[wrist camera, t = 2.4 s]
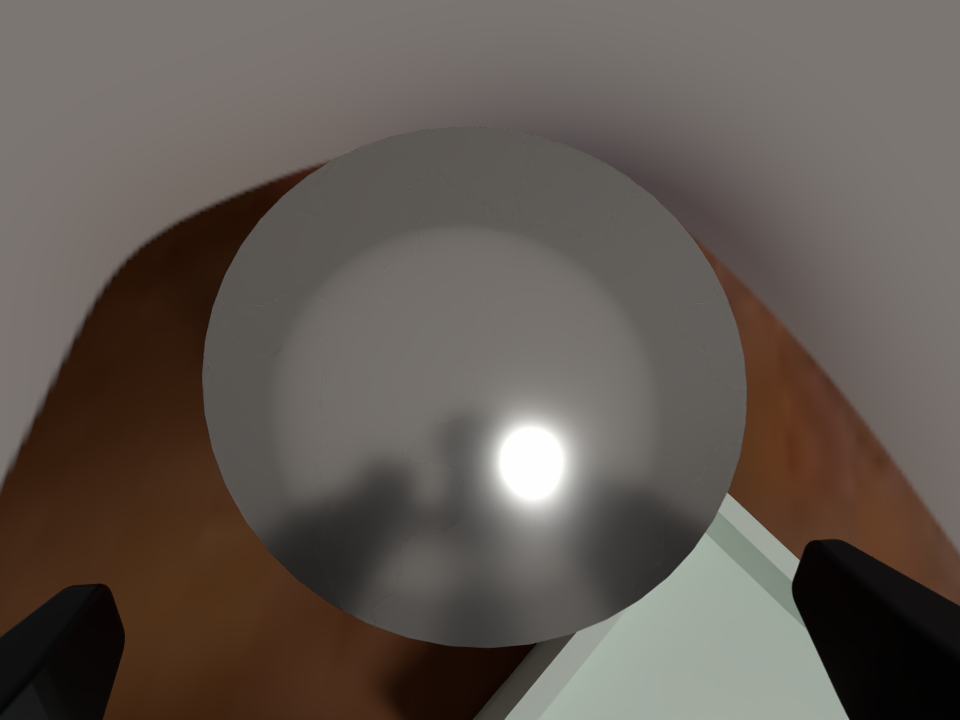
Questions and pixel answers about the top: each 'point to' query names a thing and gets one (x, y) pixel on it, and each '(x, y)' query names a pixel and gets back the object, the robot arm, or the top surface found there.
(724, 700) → the pale green square tray
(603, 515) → the tin
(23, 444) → the top surface
